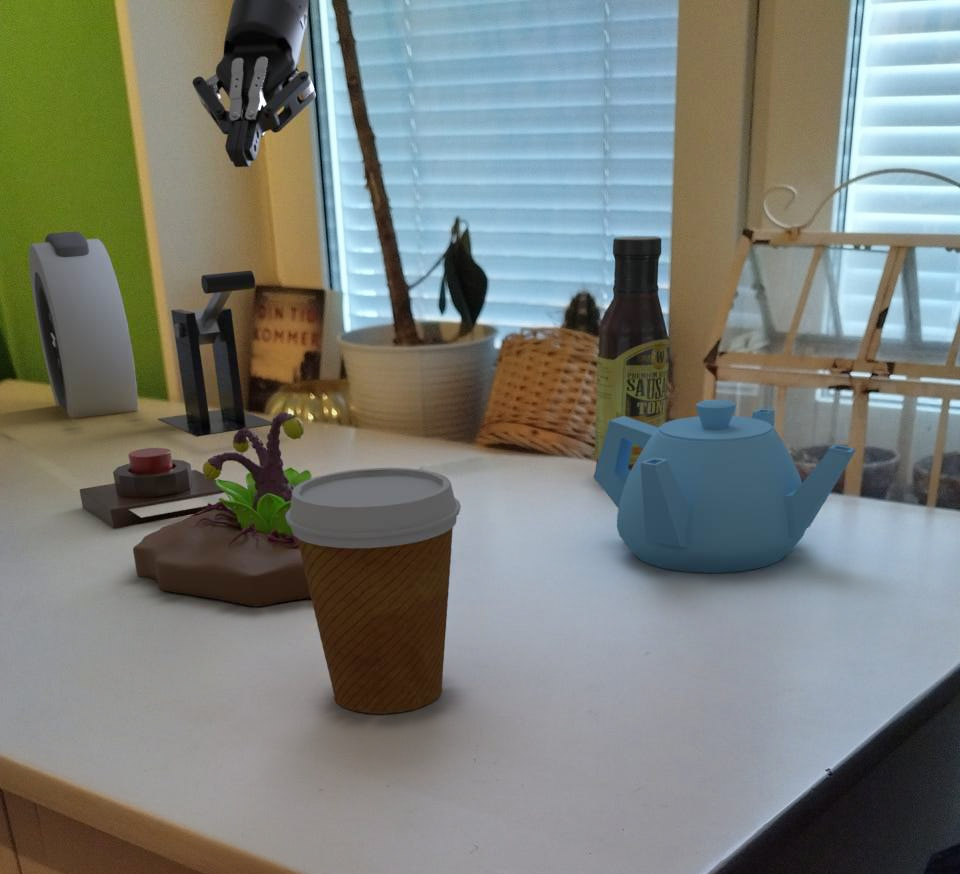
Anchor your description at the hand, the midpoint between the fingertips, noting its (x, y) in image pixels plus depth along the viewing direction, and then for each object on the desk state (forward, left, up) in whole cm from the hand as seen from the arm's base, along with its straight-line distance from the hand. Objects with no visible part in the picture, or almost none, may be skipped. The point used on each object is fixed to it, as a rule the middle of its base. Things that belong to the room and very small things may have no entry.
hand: (239, 160), depth 130 cm
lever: (-5, -1, -14) cm, 15 cm away
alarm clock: (-12, +25, -27) cm, 38 cm away
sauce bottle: (+17, -41, -27) cm, 52 cm away
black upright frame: (-5, +4, -26) cm, 27 cm away
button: (-21, -22, -23) cm, 38 cm away
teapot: (+8, -63, -27) cm, 69 cm away
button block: (-21, -22, -26) cm, 40 cm away
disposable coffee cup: (-25, -73, -27) cm, 82 cm away
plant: (-19, -45, -27) cm, 56 cm away
